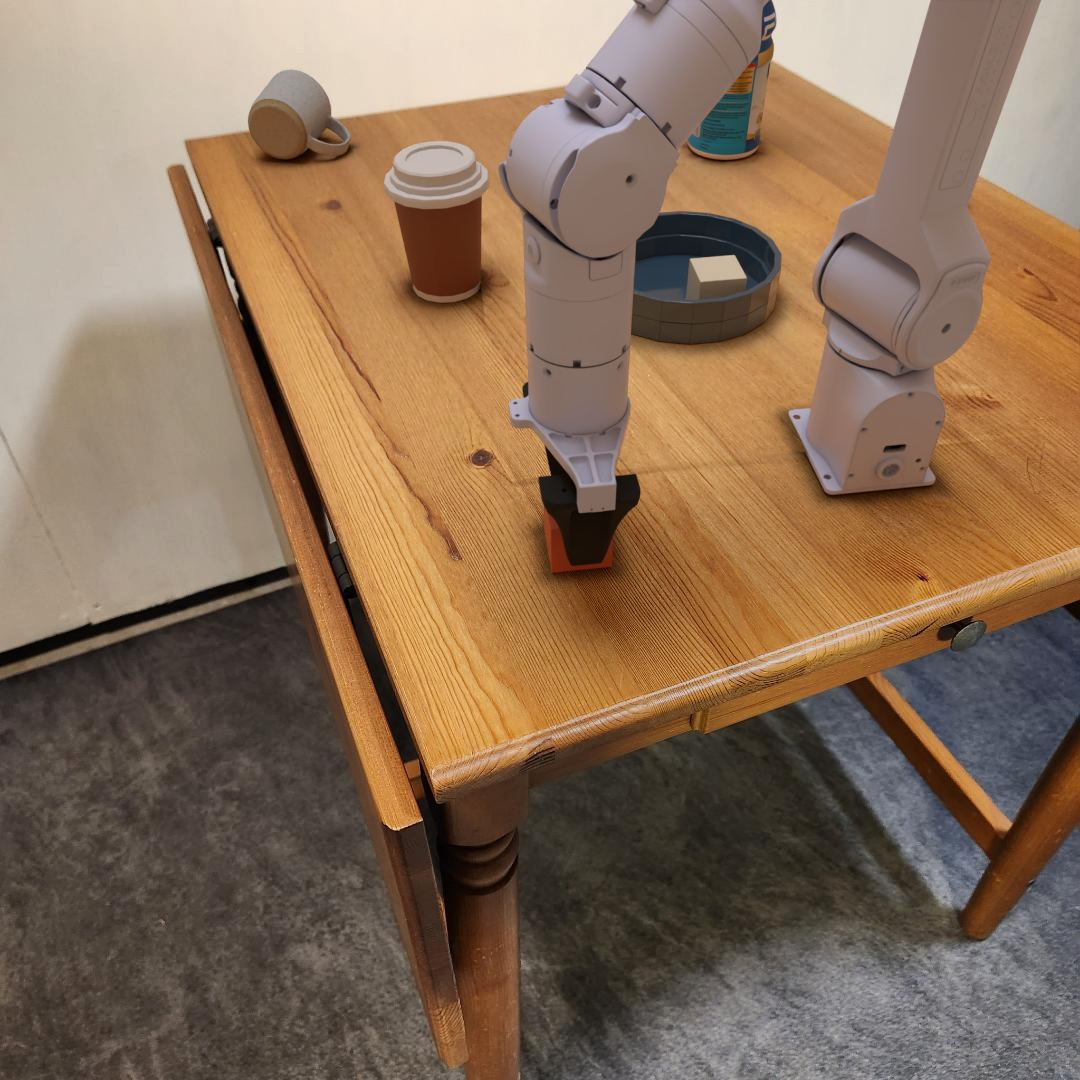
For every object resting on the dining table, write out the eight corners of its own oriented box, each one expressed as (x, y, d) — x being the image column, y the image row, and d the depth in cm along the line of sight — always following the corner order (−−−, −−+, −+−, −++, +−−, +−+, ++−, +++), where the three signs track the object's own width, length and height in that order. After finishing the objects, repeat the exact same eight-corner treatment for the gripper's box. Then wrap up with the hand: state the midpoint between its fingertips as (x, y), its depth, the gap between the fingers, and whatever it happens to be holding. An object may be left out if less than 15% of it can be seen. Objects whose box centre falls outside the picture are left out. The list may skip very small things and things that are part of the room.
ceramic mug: (251, 161, 109) (235, 92, 103) (277, 133, 114) (263, 66, 109) (339, 167, 107) (328, 97, 102) (361, 138, 113) (351, 71, 108)
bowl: (797, 341, 80) (806, 293, 77) (609, 357, 79) (610, 310, 76) (745, 249, 92) (751, 205, 88) (580, 262, 90) (581, 218, 87)
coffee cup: (459, 320, 84) (447, 189, 75) (378, 294, 87) (357, 166, 79) (514, 274, 89) (508, 147, 81) (436, 252, 93) (422, 128, 84)
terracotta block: (611, 567, 62) (613, 523, 59) (551, 573, 62) (550, 529, 59) (601, 525, 65) (603, 481, 62) (544, 530, 64) (543, 487, 62)
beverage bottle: (671, 142, 110) (686, -56, 96) (730, 127, 113) (753, -68, 99) (714, 168, 105) (736, -37, 91) (775, 152, 107) (806, -50, 93)
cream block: (741, 319, 82) (747, 277, 79) (695, 323, 81) (700, 281, 79) (729, 295, 84) (734, 254, 82) (685, 299, 84) (689, 258, 81)
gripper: (494, 278, 56) (505, 453, 66) (519, 426, 46) (527, 608, 56) (611, 268, 57) (604, 444, 67) (660, 413, 47) (645, 596, 56)
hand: (576, 518), depth 61 cm, fingers open, 7 cm apart
